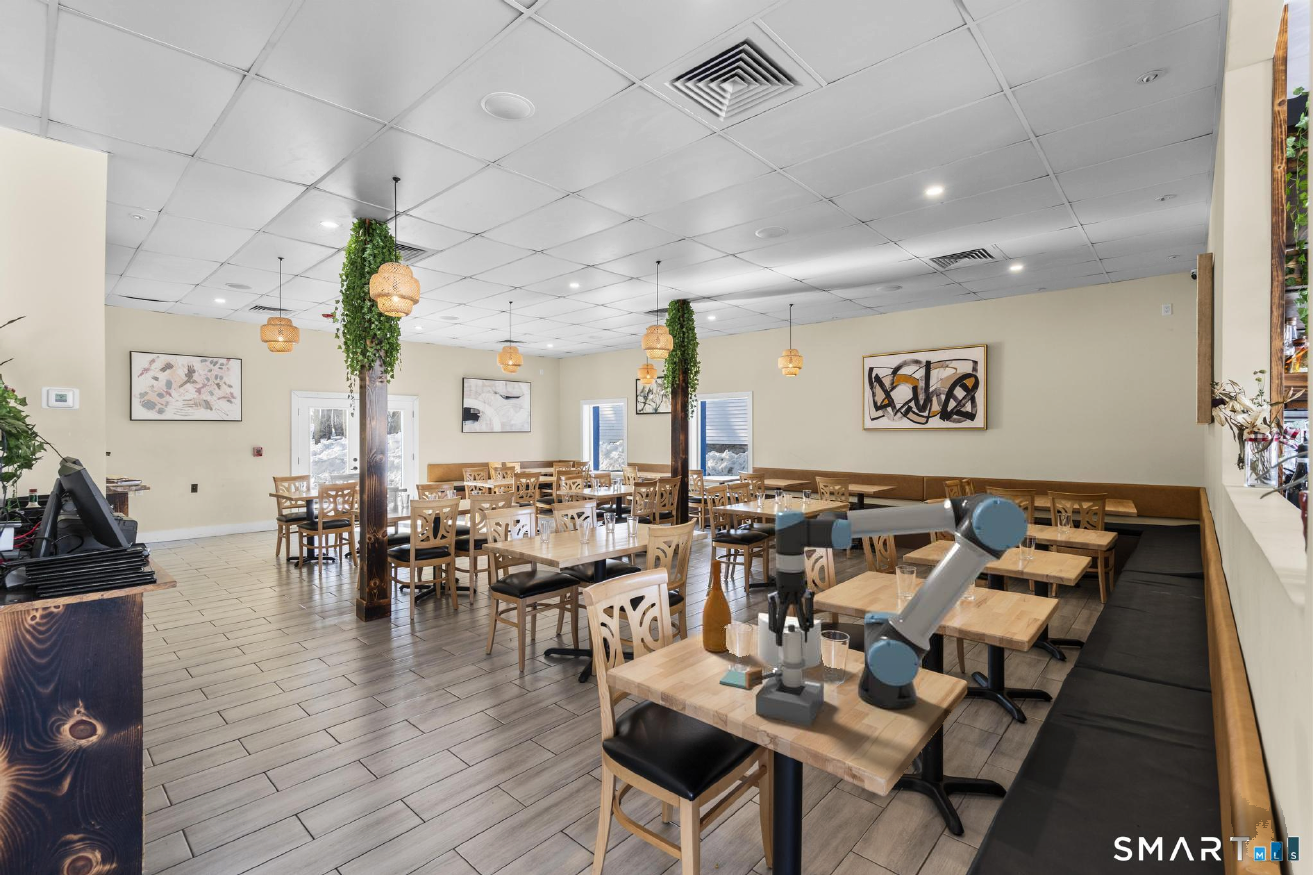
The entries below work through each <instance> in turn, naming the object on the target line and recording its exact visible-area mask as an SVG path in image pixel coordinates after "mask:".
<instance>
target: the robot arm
mask: <svg viewBox="0 0 1313 875" xmlns="http://www.w3.org/2000/svg"><path fill="white" fill-rule="evenodd" d="M1028 529H1029V524H1028V520H1027V517H1026V514H1025V512H1024V511H1023V509H1022V508H1020V507H1019V505H1017V504H1016V503H1015V502H1014V501H1012V500H1010V499H1008V498H1006V497H1002V496H1000V495H997V494H994V493H990V492H989V493H988V492H986V493H985V492H983V493H975V494H970V495H963V496H957V497H948V498H946V499H945V500H944V501H943V502H935V503H924V504H923V503H922V504H915V505H914V504H913V505H903V506H902V505H901V506H889V507H880V508H869V509H858V510H856V509H855V510H847V511H830V510H829V511H828V510H827V511H824V512H821V513H820V514H819V515H818V516H817V517H816V518H813V519H811V518H806V517H805V513H804V512H803V511H801V510H794V509H793V510H788V509H787V510H786V509H785V510H780V511H778V512H777V513H776V514H775V526H774V531H775V532H774V533H775V534H774V535H775V536H774V537H775V539H774V540H775V568H776V570H775V578H776V579H775V582H776V589H775V592H772V593H767V594H766V599H767V600H766V601H767V602H768V604H767V606H768V607H767V608H768V610H767V611H768V613H767V614H768V628H769V630H770V631H772V632H773V633H775V634H776V645H778V650H779V657H781V658H782V659H783V660H785V659H786V634H784V633H783V631H784V626H785V621H786V616H787V615H788V611H789V609H790V606H792V605H793V607H794V610H795V615H796V617H797V619H798V623H799V627H800V629H799V630H800V631H801V656H802V657H805V643H807V632H809V631H810V628H813V627H814V620H815V617H814V615H815V612H814V599H815V595H816V592H815V591H814V590H811V589H808V588H806V586H805V583H806V571H805V568H806V563H805V562H806V555H805V554H806V553H805V550H806V549H805V548H809V549H810V548H813V549H815V548H816V549H834V550H844V549H846V550H847V549H851V547H852V544H853V543H852V542H853V541H852V539H855V538H857V539H858V538H868V537H870V538H871V537H884V536H895V535H896V536H898V535H910V534H924V533H936V532H949V533H950V534H952V535H954V542H953V543H952V544H951V546H949V548H948V549H947V551H946V553H945V554H944V555H943V556H942V558H941V559H940V560H939V562H938V563H937V564H936V565H935V567H934V568H933V569H932V571H931V572H930V574H929V575H928V576H927V577H926V579H925V580H924V581H923V583H922V584H921V585H920V587H919V588H918V589H917V590H916V592H915V593H914V594H913V595H912V597H911V599H910V600H909V601H908V603H906V605H905V606H904V608H903V609H901V611H900V612H899V613H894V612H888V611H887V612H886V611H870V612H868V613H866V614H865V616H864V621H863V625H864V665H863V666H864V667H863V670H862V672H861V676H860V678H859V680H858V683H857V684H858V685H857V695H858V697H859V698H860V699H861V700H863V701H864V702H865V703H867V704H871V705H872V706H876V707H879V708H884V709H891V710H903V709H904V710H905V709H909V708H912V707H914V706H915V705H916V704H917V691H916V688H915V685H914V680H915V678H916V677H917V675H918V672H919V670H920V662H921V661H922V660H923V659H924V657H925V656H926V655H927V653H928V652H929V651H930V649H931V646H930V638H931V637H932V635H933V634H934V633H935V632H936V630H937V629H938V628H939V626H940V625H941V624H942V623H943V622H944V620H945V619H946V618H947V617H948V615H949V614H950V613H951V611H952V610H953V609H954V608H955V606H956V605H957V603H959V601H960V600H961V598H962V597H963V596H964V594H965V593H966V592H967V591H968V589H969V588H970V586H972V584H974V581H975V580H976V579H977V578H978V577H979V576H980V574H981V573H982V571H983V570H984V569H985V568H986V566H987V565H988V564H989V563H994V562H999V561H1001V559H1002V557H1003V556H1004V555H1005V554H1006V552H1007V551H1008V550H1011V549H1013V548H1015V547H1017V546H1019V545H1020V544H1021V543H1022V542H1023V541H1024V539H1025V538H1026V536H1027V533H1028ZM803 598H804V603H803ZM778 599H779V602H778ZM777 602H778V605H777ZM777 615H778V616H777Z"/></svg>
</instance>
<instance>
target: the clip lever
mask: <svg viewBox="0 0 1313 875" xmlns="http://www.w3.org/2000/svg"><path fill="white" fill-rule="evenodd" d="M744 673H745V687H747V688H750V689H751V688H755V687H757V686H760V685H763V681H764V680H769V678H771V677H775V676H783V670H782V667H780V666H772V670H770V671H765V672H763V668H761V667H757V668H753V669H751V670H747V671H745V672H744Z"/></svg>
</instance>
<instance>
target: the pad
mask: <svg viewBox="0 0 1313 875" xmlns="http://www.w3.org/2000/svg"><path fill="white" fill-rule="evenodd" d="M719 684H720V685H726V686H729V687H730V686H731V687H735V688H740V689H746V690H750V689H751V688H747V687H745V672H742V671H739V670H738V671H737V670H733V669H730V670H729V671H728V672H726V674H725V675H724V676H723V677H722V678H721V679H720V680H719Z"/></svg>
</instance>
